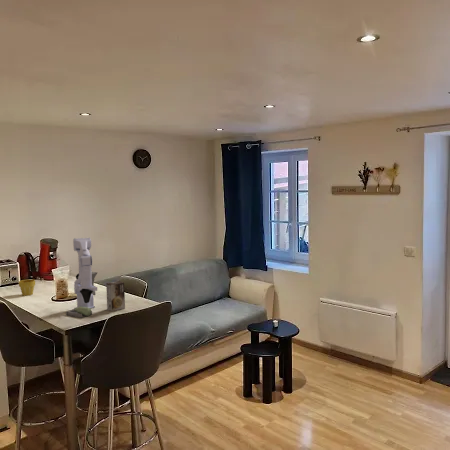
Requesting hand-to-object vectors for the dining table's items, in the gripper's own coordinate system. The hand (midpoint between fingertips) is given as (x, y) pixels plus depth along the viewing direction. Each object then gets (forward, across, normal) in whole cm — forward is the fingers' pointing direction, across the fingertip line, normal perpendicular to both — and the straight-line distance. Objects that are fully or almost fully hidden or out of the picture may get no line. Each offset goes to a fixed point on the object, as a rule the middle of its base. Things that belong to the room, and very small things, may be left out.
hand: (86, 302), depth 237 cm
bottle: (+8, -7, +7) cm, 13 cm away
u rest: (+10, -14, +7) cm, 19 cm away
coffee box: (+11, -5, +27) cm, 29 cm away
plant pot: (+11, -86, +25) cm, 90 cm away
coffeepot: (+11, -49, +45) cm, 67 cm away
